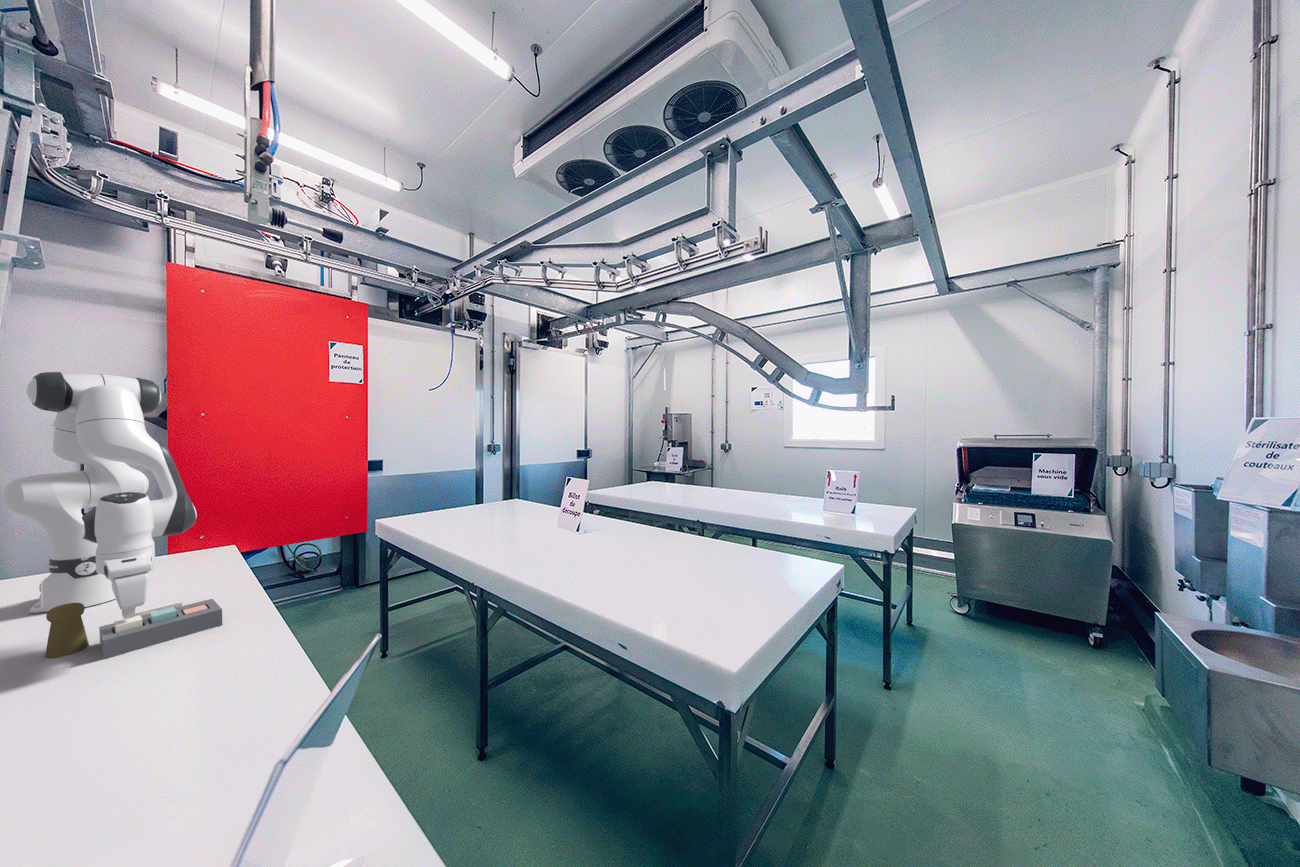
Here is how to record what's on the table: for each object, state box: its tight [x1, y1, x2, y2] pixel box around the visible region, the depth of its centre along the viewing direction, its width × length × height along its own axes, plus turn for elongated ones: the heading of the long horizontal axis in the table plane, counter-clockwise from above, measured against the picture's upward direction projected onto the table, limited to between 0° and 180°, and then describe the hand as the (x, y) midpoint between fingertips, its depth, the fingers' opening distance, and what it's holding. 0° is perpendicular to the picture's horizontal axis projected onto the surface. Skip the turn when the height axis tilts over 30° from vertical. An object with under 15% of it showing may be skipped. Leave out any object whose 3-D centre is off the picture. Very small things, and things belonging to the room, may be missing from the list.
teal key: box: [150, 607, 177, 624], centre depth 104 cm, size 4×4×3 cm
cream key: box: [113, 615, 143, 633], centre depth 99 cm, size 4×4×3 cm
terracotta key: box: [183, 604, 208, 615], centre depth 109 cm, size 4×4×3 cm
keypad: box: [98, 598, 223, 660], centre depth 105 cm, size 13×19×5 cm
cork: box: [44, 603, 90, 659], centre depth 96 cm, size 6×6×11 cm
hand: (128, 616), depth 99 cm, fingers closed
